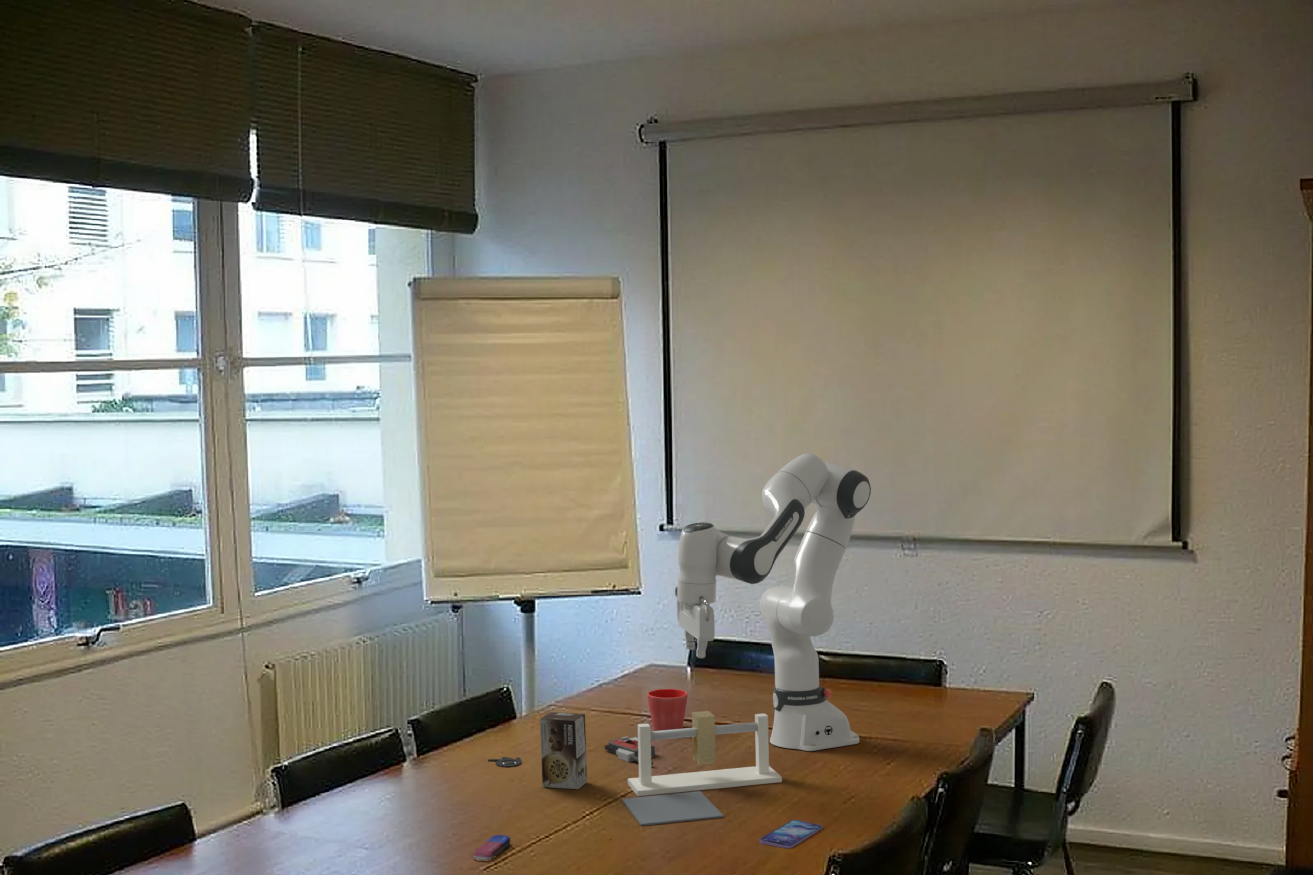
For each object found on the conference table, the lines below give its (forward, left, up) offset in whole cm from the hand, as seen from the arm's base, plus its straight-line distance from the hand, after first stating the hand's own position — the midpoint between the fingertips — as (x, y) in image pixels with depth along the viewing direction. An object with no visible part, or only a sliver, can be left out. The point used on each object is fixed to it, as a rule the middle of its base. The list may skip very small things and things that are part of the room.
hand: (695, 653), depth 329 cm
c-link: (-1, +3, -25) cm, 25 cm away
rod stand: (-1, +3, -30) cm, 30 cm away
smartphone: (-8, +43, -30) cm, 53 cm away
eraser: (+52, +34, -30) cm, 69 cm away
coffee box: (+30, -6, -30) cm, 43 cm away
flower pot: (-5, -46, -30) cm, 55 cm away
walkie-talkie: (+9, -23, -30) cm, 39 cm away
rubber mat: (+11, +19, -30) cm, 37 cm away
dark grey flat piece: (+42, -31, -30) cm, 61 cm away
